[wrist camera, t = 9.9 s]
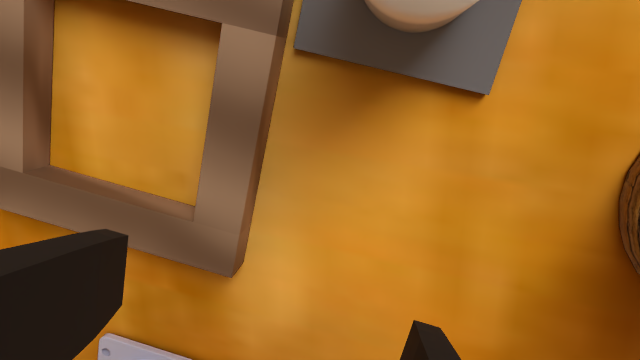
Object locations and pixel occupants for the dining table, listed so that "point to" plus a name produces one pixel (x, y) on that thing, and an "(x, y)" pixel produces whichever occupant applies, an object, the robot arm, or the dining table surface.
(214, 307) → the dining table surface
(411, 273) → the dining table surface
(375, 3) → the jug
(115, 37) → the dining table surface
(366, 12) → the mat
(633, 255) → the wooden mug
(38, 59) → the jug holder
